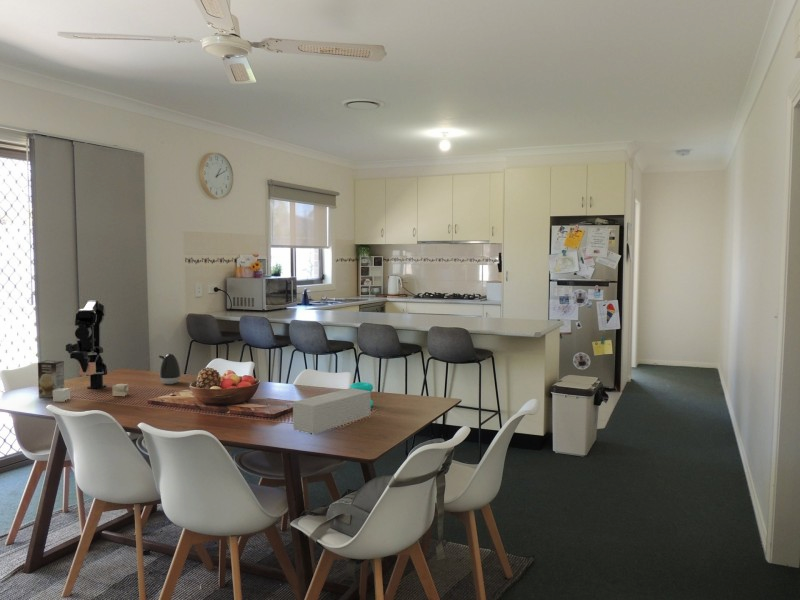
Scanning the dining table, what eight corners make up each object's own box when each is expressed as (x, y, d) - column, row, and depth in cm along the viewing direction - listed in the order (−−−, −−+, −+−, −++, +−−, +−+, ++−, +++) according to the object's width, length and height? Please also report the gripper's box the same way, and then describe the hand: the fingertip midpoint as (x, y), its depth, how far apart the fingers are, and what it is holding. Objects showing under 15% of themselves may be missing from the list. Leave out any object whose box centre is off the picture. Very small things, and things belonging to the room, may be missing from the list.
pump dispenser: (162, 381, 326) (161, 352, 325) (183, 381, 327) (182, 352, 326) (156, 385, 316) (156, 355, 315) (178, 385, 317) (177, 355, 316)
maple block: (117, 394, 295) (117, 383, 295) (128, 394, 295) (128, 384, 295) (112, 396, 290) (112, 386, 290) (123, 397, 290) (123, 386, 290)
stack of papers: (313, 435, 229) (313, 405, 229) (293, 430, 236) (292, 401, 235) (370, 417, 255) (370, 391, 254) (350, 413, 261) (350, 387, 260)
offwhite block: (59, 399, 286) (58, 388, 285) (70, 399, 286) (69, 388, 285) (52, 401, 281) (52, 390, 280) (64, 401, 281) (63, 390, 280)
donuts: (361, 380, 278) (377, 383, 272) (361, 403, 279) (377, 406, 272) (344, 384, 271) (361, 387, 264) (344, 407, 272) (361, 410, 265)
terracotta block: (85, 372, 291) (84, 362, 290) (95, 373, 291) (95, 362, 290) (79, 374, 286) (79, 364, 285) (90, 375, 286) (90, 364, 285)
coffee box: (37, 397, 288) (36, 362, 287) (46, 394, 295) (45, 360, 294) (56, 397, 288) (55, 362, 286) (65, 394, 294) (64, 360, 293)
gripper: (79, 334, 297) (80, 367, 298) (57, 339, 278) (58, 374, 279) (103, 334, 296) (104, 367, 297) (82, 339, 278) (83, 375, 279)
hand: (87, 371), depth 288 cm, fingers closed on terracotta block, 5 cm apart
